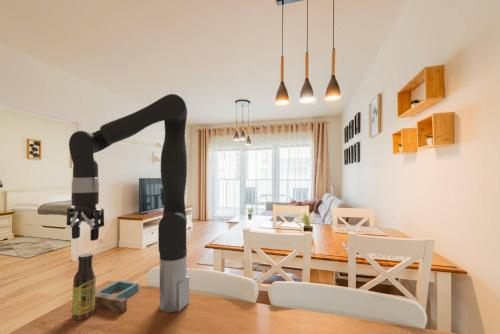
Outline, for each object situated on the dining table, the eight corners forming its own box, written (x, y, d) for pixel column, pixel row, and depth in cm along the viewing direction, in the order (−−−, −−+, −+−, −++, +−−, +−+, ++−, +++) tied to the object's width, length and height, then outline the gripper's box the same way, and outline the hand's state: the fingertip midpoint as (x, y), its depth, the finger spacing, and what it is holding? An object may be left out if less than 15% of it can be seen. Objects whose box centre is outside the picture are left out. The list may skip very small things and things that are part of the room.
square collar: (138, 291, 94) (138, 283, 94) (114, 305, 84) (114, 297, 84) (119, 287, 97) (119, 280, 97) (94, 301, 87) (94, 293, 87)
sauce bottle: (82, 322, 74) (83, 259, 75) (66, 320, 75) (67, 258, 76) (99, 310, 81) (100, 252, 81) (84, 309, 82) (85, 251, 82)
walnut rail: (126, 310, 81) (126, 298, 81) (121, 313, 79) (121, 301, 79) (86, 301, 86) (86, 290, 87) (81, 304, 85) (81, 293, 85)
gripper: (111, 190, 81) (110, 237, 80) (81, 190, 85) (80, 234, 85) (90, 192, 74) (89, 244, 73) (58, 191, 78) (58, 240, 77)
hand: (84, 239), depth 79 cm, fingers open, 8 cm apart
